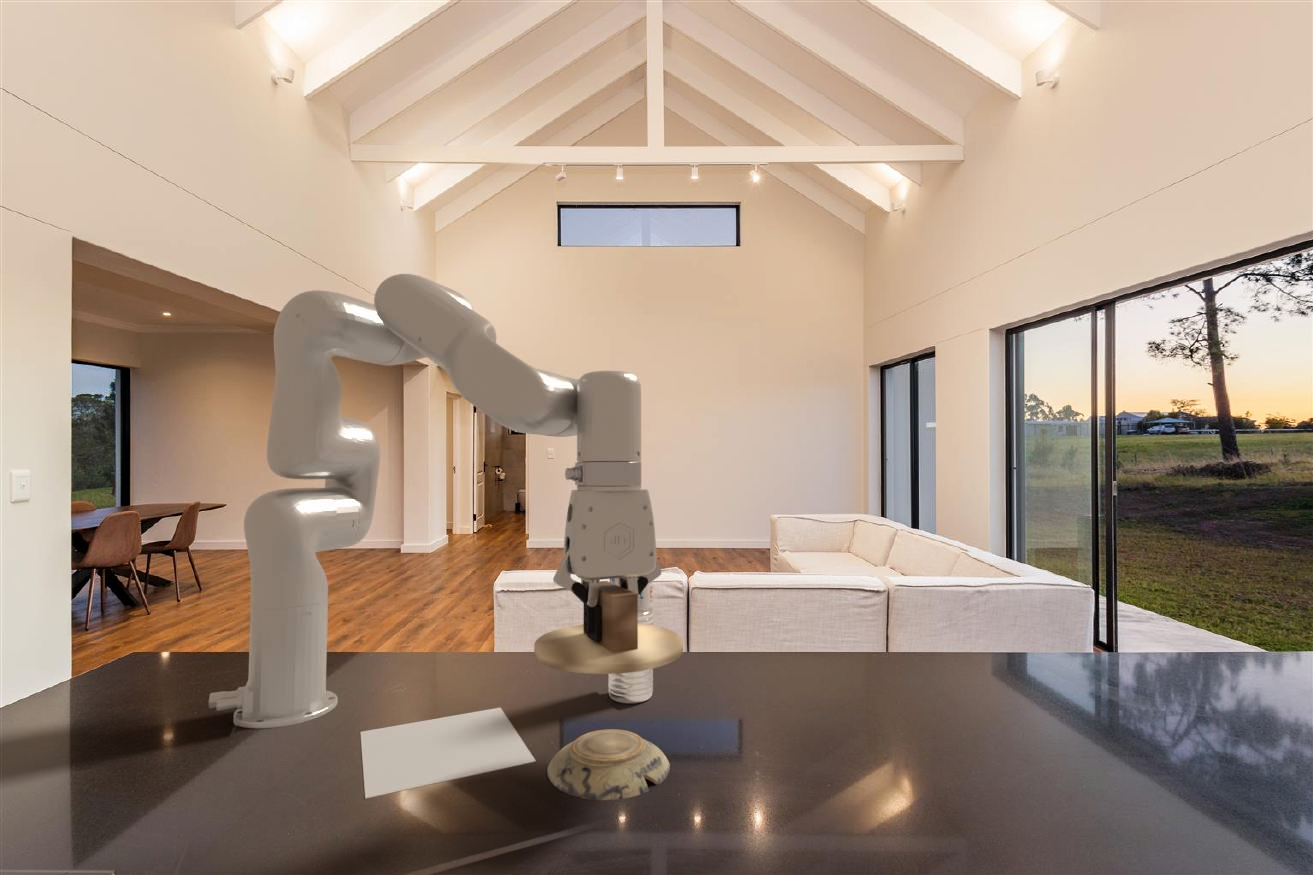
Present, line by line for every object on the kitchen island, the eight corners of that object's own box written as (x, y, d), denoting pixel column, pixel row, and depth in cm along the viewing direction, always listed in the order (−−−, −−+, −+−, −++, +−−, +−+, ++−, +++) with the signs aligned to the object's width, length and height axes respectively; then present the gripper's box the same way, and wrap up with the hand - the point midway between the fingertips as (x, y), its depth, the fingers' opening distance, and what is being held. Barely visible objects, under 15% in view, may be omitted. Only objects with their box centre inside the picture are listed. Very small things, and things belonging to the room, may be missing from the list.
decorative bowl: (582, 739, 81) (514, 793, 67) (583, 710, 81) (514, 758, 67) (691, 761, 75) (641, 825, 61) (691, 729, 75) (641, 786, 61)
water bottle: (647, 706, 90) (648, 533, 91) (602, 703, 91) (603, 532, 93) (657, 690, 97) (657, 529, 98) (614, 686, 98) (615, 528, 99)
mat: (365, 803, 64) (365, 798, 64) (360, 736, 80) (360, 731, 80) (535, 765, 72) (535, 760, 72) (500, 711, 88) (500, 707, 88)
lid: (561, 683, 60) (562, 610, 60) (517, 640, 75) (517, 582, 76) (711, 658, 68) (710, 594, 68) (643, 624, 83) (643, 571, 83)
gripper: (551, 479, 65) (550, 656, 65) (685, 477, 73) (686, 636, 72) (531, 478, 72) (530, 638, 71) (656, 476, 80) (657, 622, 79)
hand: (609, 635), depth 72 cm, fingers closed on lid, 3 cm apart
